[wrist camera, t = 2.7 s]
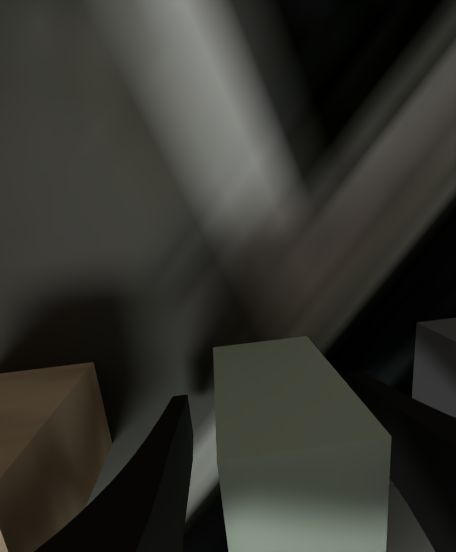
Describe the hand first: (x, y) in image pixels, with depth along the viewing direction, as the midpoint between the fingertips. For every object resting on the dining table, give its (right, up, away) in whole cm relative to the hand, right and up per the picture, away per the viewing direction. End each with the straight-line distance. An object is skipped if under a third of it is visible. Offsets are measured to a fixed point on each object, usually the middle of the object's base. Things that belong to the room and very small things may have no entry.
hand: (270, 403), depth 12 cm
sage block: (0, 0, +1) cm, 2 cm away
